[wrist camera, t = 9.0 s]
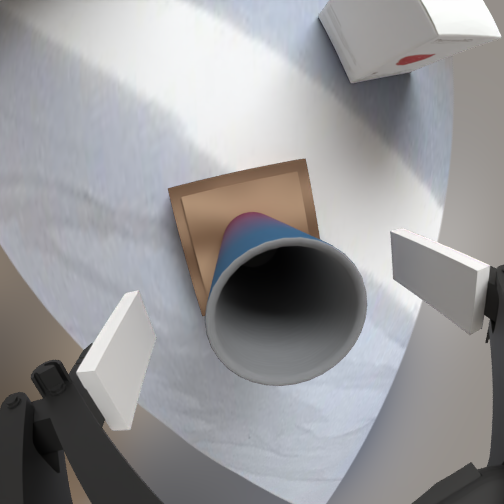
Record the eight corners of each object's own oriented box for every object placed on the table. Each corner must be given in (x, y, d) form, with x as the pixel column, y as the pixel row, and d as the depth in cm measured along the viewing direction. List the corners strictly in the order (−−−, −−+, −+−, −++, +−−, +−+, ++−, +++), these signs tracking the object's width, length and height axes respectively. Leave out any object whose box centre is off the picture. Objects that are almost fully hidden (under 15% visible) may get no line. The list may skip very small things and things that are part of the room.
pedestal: (173, 187, 28) (167, 188, 25) (297, 159, 28) (306, 158, 25) (203, 303, 31) (202, 317, 28) (317, 276, 32) (327, 287, 28)
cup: (304, 254, 27) (385, 335, 13) (238, 292, 28) (257, 407, 13) (267, 186, 26) (328, 203, 11) (197, 227, 26) (170, 295, 11)
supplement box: (349, 86, 27) (437, 37, 13) (315, 15, 25) (373, -64, 10) (413, 74, 27) (505, 40, 13) (381, 9, 25) (454, -49, 10)
